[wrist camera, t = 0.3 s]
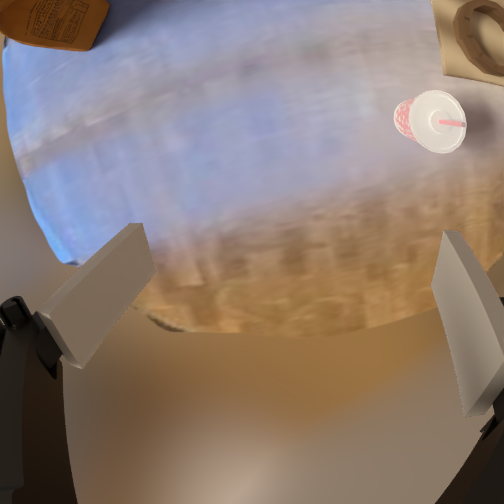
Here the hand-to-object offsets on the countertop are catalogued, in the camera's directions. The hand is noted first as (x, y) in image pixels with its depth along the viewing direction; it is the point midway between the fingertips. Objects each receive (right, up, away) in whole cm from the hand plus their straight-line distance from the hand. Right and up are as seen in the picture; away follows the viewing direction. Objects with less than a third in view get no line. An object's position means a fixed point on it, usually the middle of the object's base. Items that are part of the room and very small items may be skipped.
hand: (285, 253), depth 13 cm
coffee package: (-27, +35, +18) cm, 47 cm away
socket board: (+27, +32, +8) cm, 43 cm away
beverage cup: (+17, +16, +18) cm, 30 cm away
